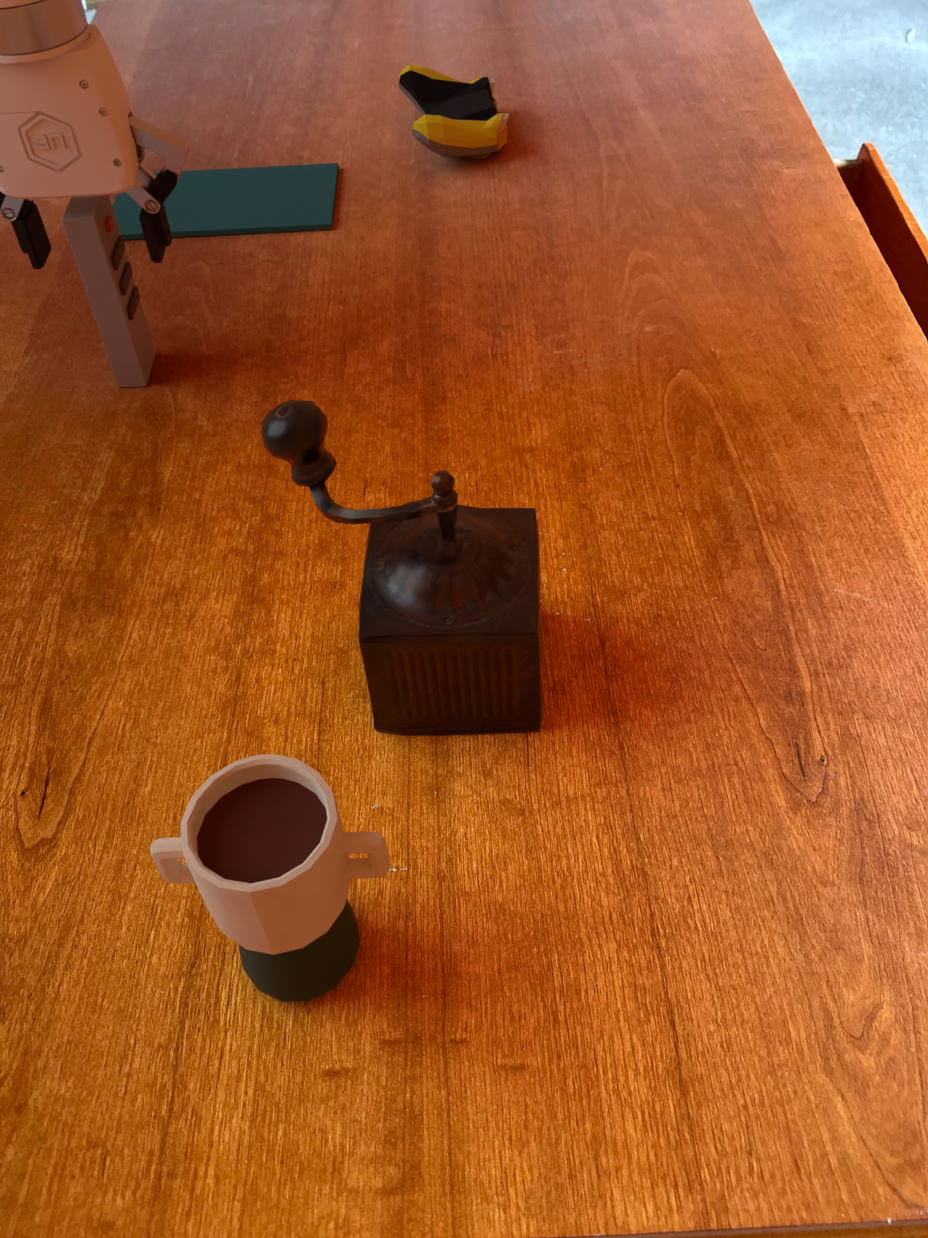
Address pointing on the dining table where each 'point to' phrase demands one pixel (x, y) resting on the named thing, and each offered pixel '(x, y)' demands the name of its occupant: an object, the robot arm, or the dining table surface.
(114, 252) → the remote
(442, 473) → the manual coffee grinder
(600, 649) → the dining table surface
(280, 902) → the character mug
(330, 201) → the felt mat
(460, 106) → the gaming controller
